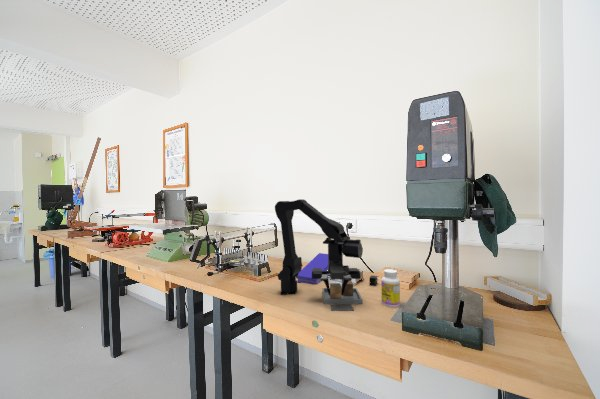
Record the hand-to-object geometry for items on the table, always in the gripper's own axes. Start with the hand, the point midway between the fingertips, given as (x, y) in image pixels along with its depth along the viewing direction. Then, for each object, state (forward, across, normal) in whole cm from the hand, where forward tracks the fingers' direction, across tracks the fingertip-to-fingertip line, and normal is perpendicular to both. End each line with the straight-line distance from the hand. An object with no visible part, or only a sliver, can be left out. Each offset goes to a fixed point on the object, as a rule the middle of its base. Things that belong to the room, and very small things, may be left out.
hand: (335, 295), depth 108 cm
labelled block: (+2, 0, 0) cm, 2 cm away
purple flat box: (+3, -6, +34) cm, 34 cm away
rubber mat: (+2, +2, -8) cm, 8 cm away
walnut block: (+2, +6, +6) cm, 9 cm away
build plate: (+3, +19, +20) cm, 28 cm away
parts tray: (+2, +2, +3) cm, 5 cm away
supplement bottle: (+3, +20, -3) cm, 21 cm away
